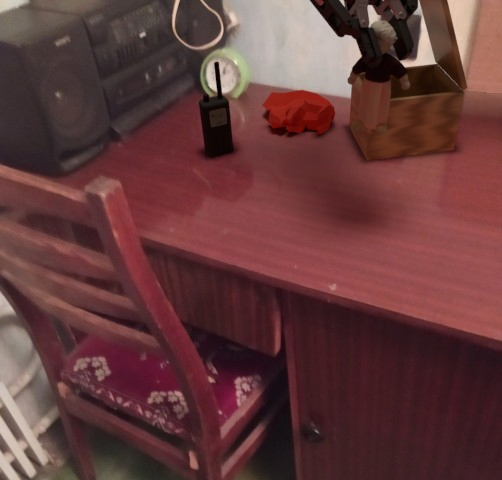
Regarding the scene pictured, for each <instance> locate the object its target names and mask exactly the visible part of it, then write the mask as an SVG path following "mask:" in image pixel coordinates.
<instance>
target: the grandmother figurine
mask: <svg viewBox="0 0 502 480" xmlns="http://www.w3.org/2000/svg"><path fill="white" fill-rule="evenodd" d="M371 27H373V29H374V32H375V35H376V38H377V41H378V44H379V47H380V50H381V52H382V56H383V59H382V61H381V62H380V63H379V65H378V66H377V67H374V68H369V66H368V64H365V62H364V61H363V59H362V56H360V58H358V60H357V61H356V62H355V64H354V65H353V66H352V67H351V71H350V73H349V76H348V77H347V81H346V82H347V84H348V85H351V86H352V84H354V83H355V82H356V78H358V76H359V74H361V73H364V72H365V76H364V79H363V81H362V86H361V93H360V101H359V108H358V121H356V122H354V123H353V125H352V129H353V130H355V131H364V130H366V129H367V128H369V129H371V132H372V133H374V134H384V133H386V131H387V124H386V123H387V119H388V113H389V107H390V96H391V79H390V75H393V76H394V77H396V78H397V79H399V81H400V82H401V87H402V89H404V90H407V89H409V88H410V83H409V81H408V75H407V72H408V70H407V69H406V68H405V67H406V66H405V65H404V64H403V63H402V62H401V61H399V60H398V58H397V57H394V56H393V55H392V54H390V53H388V52H389V51H390V49H391V47H392V46H393V44H394V43H395V42H396V40H397V39H398V38H397V37H396V33H395V31H394V29H393V27H392V26H391V25H390V24H389V23H388V22H387V21H384V20H375V21H373V22H372V23H371V24H369V28H371Z"/></svg>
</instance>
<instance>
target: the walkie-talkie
mask: <svg viewBox="0 0 502 480" xmlns="http://www.w3.org/2000/svg"><path fill="white" fill-rule="evenodd" d="M213 68H214V76H215V85H216V94H217V95H214V96H211V97H210V95H209V93H203V95H202V98H201V99H200V100H199V101H198V106H199V107H198V108H199V115H200V116H199V117H200V122H201V123H200V124H201V129H202V137H203V145H204V152H205V154H206V155H207V157H209V158H216V157H220V156H224V155H228V154H231V153H233V152H235V150H234V141H233V140H234V139H233V131H232V120H231V109H230V101H229V99H228V98H227V97H226V96H225V95H224V94H223V89H222V78H221V71H220V70H221V69H220V62H219V61H214V62H213Z"/></svg>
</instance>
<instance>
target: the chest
mask: <svg viewBox="0 0 502 480" xmlns="http://www.w3.org/2000/svg"><path fill="white" fill-rule="evenodd" d="M404 67H405V68H406V69H407V70H408V72H407V75H408V81H409V83H410V88H409V89H407V90H404V89H402V87H401V82H400V81H399V79H397V78H396V77H394V76H393V75H390V79H391V96H390V107H389V113H388V119H387V123H386V124H387V131H386V133H384V134H374V133H372V132H371V129H369V128H367V129H366V130H364V131H355V130H353V129H352V125H353V123H354V122H356V121H358V108H359V101H360V93H361V86H362V81H363V79H364V76H365V72H364V73H361V74H359V76H358V78H356V82H355V83H354V84H352V85H351V86H350V87H351V88H350V89H351V90H350V108H349V109H350V110H349V112H350V113H349V129H350V131H351V133H352V135H353V137H354V139H355V141H356V143H357V144H358V146H359V148H360V150H361V152H362V154H363V156H364V157H365V160H366V161H372V160H373V161H374V160H383V159H389V158H399V157H406V156H415V155H423V154H431V153H433V154H434V153H440V152H451V151H454V150H455V146H456V142H457V141H456V140H457V136H458V131H459V125H460V119H461V113H462V109H463V103H464V98H465V90H462V89H461V88H460V87H459V86H458V85H457V84H456V83H455V82H454V81H453V80H452V79H451V78H450V77H449V76H448V74H447V73H446V72H445V71H444V70H443V69H442V68H441V67H440V66H439V65H438V64H437V63H432V64H424V65H423V64H422V65H413V66H404Z"/></svg>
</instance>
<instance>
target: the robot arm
mask: <svg viewBox="0 0 502 480" xmlns="http://www.w3.org/2000/svg"><path fill="white" fill-rule="evenodd" d="M309 2H310V3H311V4H312V5H313V7H314V8H315V9H316V10H317V12H318V13H319V14H320V15H321V17H322V18H323V20H324V21H325V23H327V24H328V26H329V27H330V29H331V30H332V31H333V32H334V34H335V35H336V36H337V37H338V38H344V37H345V36H350V37H351V38H352V39H354V40H355V42H356V44H357V47H358V50H359V54H360V56H361V57H362V59H363V61H364V62H365V64H368V66H369V68H374V67H377V66H378V65H379V63H380V62H381V61H382V59H383V56H382V52H381V50H380V47H379V44H378V41H377V38H376V35H375V32H374V29H373V27H371V28H369V27H370V17H369V16H370V15H369V10H368V7H369V6H372V8H373V10H374V11H375V13H376V15H377V16H380V17H381V18H382V21H387V22H388V23H389V24H390V25H391V26H392V27H393V29H394V31H395V33H396V37H397V38H398V39H397V40H396V42H395V43H394V44H393V45H392V46H393V49H394V52H395V54H396V59H398V60H399V61H400V62H401V61H405V60H407V59H408V58H409V56H411V55H412V53H413V48H414V47H415V42H414V39H413V37H412V34H411V31H410V29H409V25H408V21H409V19H410V18H411V17H412V16H413V15H414V14H415V12H416V11H417V10H418V9H419V0H343V3H342V2H341V0H309Z"/></svg>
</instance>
